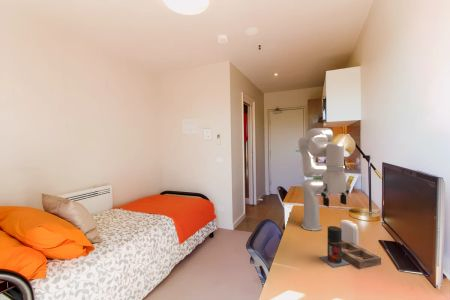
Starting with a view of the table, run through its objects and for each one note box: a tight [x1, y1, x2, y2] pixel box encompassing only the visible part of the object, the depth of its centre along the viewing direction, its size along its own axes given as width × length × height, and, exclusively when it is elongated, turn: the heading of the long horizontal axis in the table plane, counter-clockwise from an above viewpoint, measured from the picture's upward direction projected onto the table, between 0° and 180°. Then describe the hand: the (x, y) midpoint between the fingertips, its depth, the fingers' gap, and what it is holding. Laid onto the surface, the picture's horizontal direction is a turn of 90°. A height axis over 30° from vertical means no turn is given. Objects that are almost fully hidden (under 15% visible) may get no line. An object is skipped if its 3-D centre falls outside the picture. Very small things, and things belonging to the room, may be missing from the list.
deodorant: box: [327, 225, 343, 263], centre depth 104 cm, size 6×6×15 cm
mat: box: [319, 255, 351, 269], centre depth 104 cm, size 9×9×1 cm
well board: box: [342, 241, 382, 269], centre depth 107 cm, size 18×12×3 cm, turn 15°
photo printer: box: [339, 219, 360, 247], centre depth 122 cm, size 10×4×12 cm, turn 14°
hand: (334, 204), depth 105 cm, fingers open, 9 cm apart
